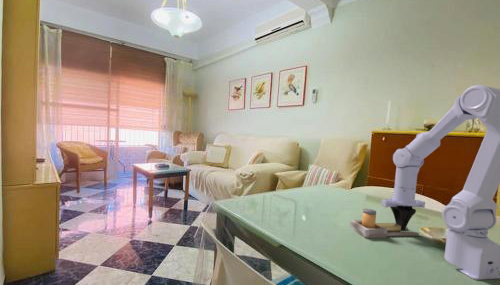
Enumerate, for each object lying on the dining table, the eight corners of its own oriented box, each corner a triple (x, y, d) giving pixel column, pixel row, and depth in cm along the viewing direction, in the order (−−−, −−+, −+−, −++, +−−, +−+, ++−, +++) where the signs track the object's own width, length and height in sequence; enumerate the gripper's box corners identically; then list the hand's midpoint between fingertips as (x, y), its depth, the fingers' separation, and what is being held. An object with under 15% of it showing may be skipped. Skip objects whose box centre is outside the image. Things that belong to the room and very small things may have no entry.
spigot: (376, 234, 72) (379, 212, 72) (366, 235, 71) (369, 212, 71) (368, 230, 76) (370, 208, 76) (358, 230, 75) (360, 208, 75)
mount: (424, 239, 73) (425, 229, 73) (364, 240, 69) (365, 229, 69) (404, 229, 81) (405, 220, 80) (349, 229, 77) (350, 220, 76)
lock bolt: (400, 233, 74) (401, 226, 74) (378, 234, 73) (378, 226, 73) (394, 230, 77) (394, 222, 77) (372, 230, 75) (373, 223, 75)
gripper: (413, 184, 81) (409, 223, 81) (376, 183, 78) (372, 224, 78) (432, 190, 74) (428, 232, 74) (392, 189, 71) (388, 233, 71)
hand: (400, 228), depth 76 cm, fingers closed
